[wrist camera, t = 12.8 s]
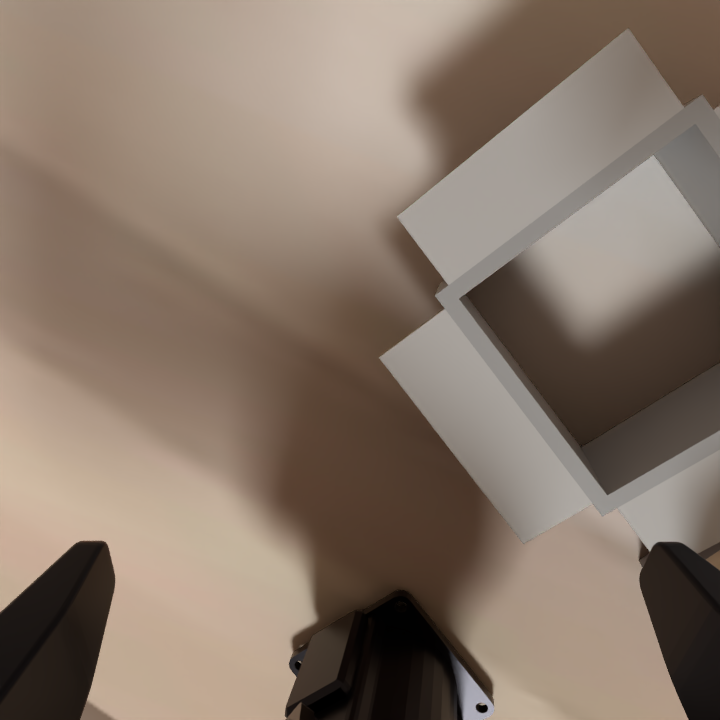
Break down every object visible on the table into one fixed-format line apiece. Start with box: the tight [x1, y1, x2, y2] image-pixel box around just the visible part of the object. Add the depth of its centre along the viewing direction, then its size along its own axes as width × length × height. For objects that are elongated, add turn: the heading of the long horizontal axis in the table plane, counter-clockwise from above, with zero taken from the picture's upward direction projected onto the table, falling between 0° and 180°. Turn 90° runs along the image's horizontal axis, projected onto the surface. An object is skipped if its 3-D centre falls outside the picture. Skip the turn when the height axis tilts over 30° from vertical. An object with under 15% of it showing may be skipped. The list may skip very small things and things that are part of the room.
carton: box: [379, 28, 720, 554], centre depth 18 cm, size 14×14×4 cm
